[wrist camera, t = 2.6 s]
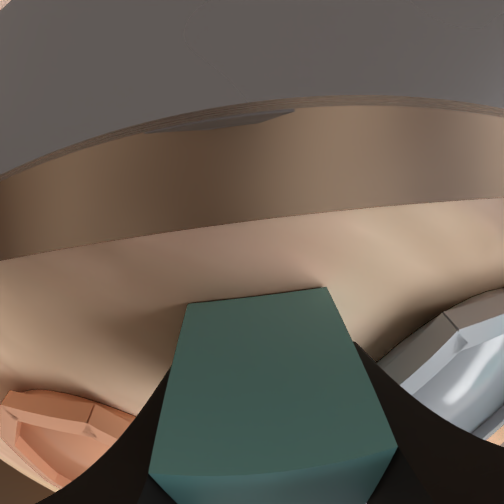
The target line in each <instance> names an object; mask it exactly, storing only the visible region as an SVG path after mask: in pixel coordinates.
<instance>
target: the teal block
mask: <svg viewBox="0 0 504 504" xmlns="http://www.w3.org/2000/svg"><path fill="white" fill-rule="evenodd" d="M397 447H398V446H397V443H396V441H395V438H394V436H393V433H392V431H391V428H390V426H389V423H388V421H387V419H386V416H385V414H384V411H383V409H382V407H381V404H380V402H379V400H378V397H377V395H376V393H375V390H374V388H373V386H372V383H371V381H370V379H369V377H368V374H367V372H366V370H365V368H364V365H363V363H362V361H361V359H360V357H359V354H358V352H357V350H356V348H355V346H354V343H353V341H352V339H351V337H350V335H349V333H348V331H347V328H346V326H345V324H344V322H343V320H342V318H341V316H340V314H339V312H338V310H337V308H336V305H335V303H334V301H333V299H332V297H331V295H330V293H329V291H328V289H327V287H323V288H316V289H309V290H302V291H295V292H287V293H280V294H272V295H264V296H256V297H247V298H239V299H230V300H221V301H212V302H202V303H192V304H188V305H187V309H186V312H185V316H184V320H183V324H182V327H181V331H180V335H179V339H178V343H177V347H176V351H175V355H174V359H173V363H172V367H171V371H170V375H169V379H168V383H167V388H166V392H165V396H164V401H163V405H162V409H161V414H160V418H159V423H158V428H157V432H156V437H155V442H154V447H153V452H152V456H151V462H150V467H149V472H148V473H149V474H150V476H151V477H152V478H153V479H154V480H155V481H156V482H157V483H158V484H159V485H160V486H161V487H162V488H163V490H164V491H165V492H166V493H167V494H168V495H169V496H170V497H171V498H172V499H173V500H174V501H175V502H176V503H177V504H366V503H367V501H368V499H369V498H370V496H371V495H372V493H373V491H374V490H375V488H376V486H377V484H378V483H379V481H380V479H381V478H382V476H383V474H384V472H385V470H386V468H387V467H388V465H389V463H390V461H391V459H392V457H393V455H394V453H395V451H396V449H397Z"/></svg>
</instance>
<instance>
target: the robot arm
mask: <svg viewBox="0 0 504 504" xmlns="http://www.w3.org/2000/svg"><path fill="white" fill-rule="evenodd" d="M353 343H354V346H355V348H356V350H357V352H358V354H359V357H360V359H361V361H362V363H363V365H364V368H365V370H366V372H367V374H368V377H369V379H370V381H371V383H372V386H373V388H374V390H375V393H376V395H377V397H378V400H379V402H380V404H381V407H382V409H383V411H384V414H385V416H386V419H387V421H388V423H389V426H390V428H391V431H392V433H393V436H394V438H395V441H396V443H397V446H398V447H397V449H396V451H395V453H394V455H393V457H392V459H391V461H390V463H389V465H388V467H387V468H386V470H385V472H384V474H383V476H382V478H381V479H380V481H379V483H378V484H377V486H376V488H375V490H374V491H373V493H372V495H371V496H370V498H369V499H368V501H367V503H366V504H504V447H501V446H499V445H496V444H493V443H491V442H488V441H486V440H483V439H481V438H479V437H477V436H475V435H473V434H471V433H469V432H467V431H465V430H463V429H461V428H459V427H457V426H455V425H454V424H452V423H450V422H449V421H447V420H445V419H444V418H442V417H441V416H439V415H438V414H436V413H435V412H433V411H432V410H430V409H429V408H427V407H426V406H425V405H423V404H422V403H421V402H419V401H418V400H417V399H416V398H414V397H413V396H412V395H411V394H409V393H408V392H407V391H406V390H405V389H404V388H402V387H401V386H400V385H399V384H398V383H397V382H396V381H395V380H393V379H392V378H391V377H390V376H389V375H388V374H387V373H386V372H385V371H384V370H383V369H382V368H381V367H380V366H379V365H378V364H377V363H376V362H374V361H373V359H372V358H371V357H370V356H369V355H368V354H367V353H366V352H365V351H364V350H363V349H362V348H361V347H360V346H359V345H358V344H357V343H356V342H353ZM171 367H172V365H171ZM171 367H170V368H169V370H168V371H167V373H166V374H165V376H164V378H163V379H162V381H161V382H160V384H159V385H158V387H157V388H156V390H155V391H154V393H153V394H152V396H151V397H150V398H149V400H148V401H147V403H146V404H145V405H144V407H143V408H142V410H141V411H140V412H139V414H138V415H137V416H136V418H135V419H134V420H133V421H132V423H131V424H130V425H129V426H128V428H127V429H126V430H125V431H124V433H123V434H122V435H121V436H120V437H119V439H118V440H117V441H116V442H115V443H114V444H113V445H112V446H111V447H110V448H109V449H108V450H107V451H106V452H105V453H104V454H103V455H102V456H101V457H100V458H99V459H98V460H97V461H96V462H95V463H94V464H93V465H91V466H90V467H89V468H88V469H87V470H86V471H85V472H83V473H82V474H81V475H80V476H78V477H77V478H76V479H74V480H73V481H72V482H70V483H69V484H67V485H66V486H64V487H63V488H62V489H60V490H59V491H57V492H56V493H54V494H53V495H51V496H49V497H47V498H45V499H43V500H42V501H39V502H38V503H36V504H177V503H176V502H175V501H174V500H173V499H172V498H171V497H170V496H169V495H168V494H167V493H166V492H165V491H164V490H163V488H162V487H161V486H160V485H159V484H158V483H157V482H156V481H155V480H154V479H153V478H152V477H151V476H150V474H149V473H148V472H149V467H150V462H151V456H152V452H153V447H154V442H155V437H156V432H157V428H158V423H159V418H160V414H161V409H162V405H163V401H164V396H165V392H166V388H167V383H168V379H169V375H170V371H171Z"/></svg>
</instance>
